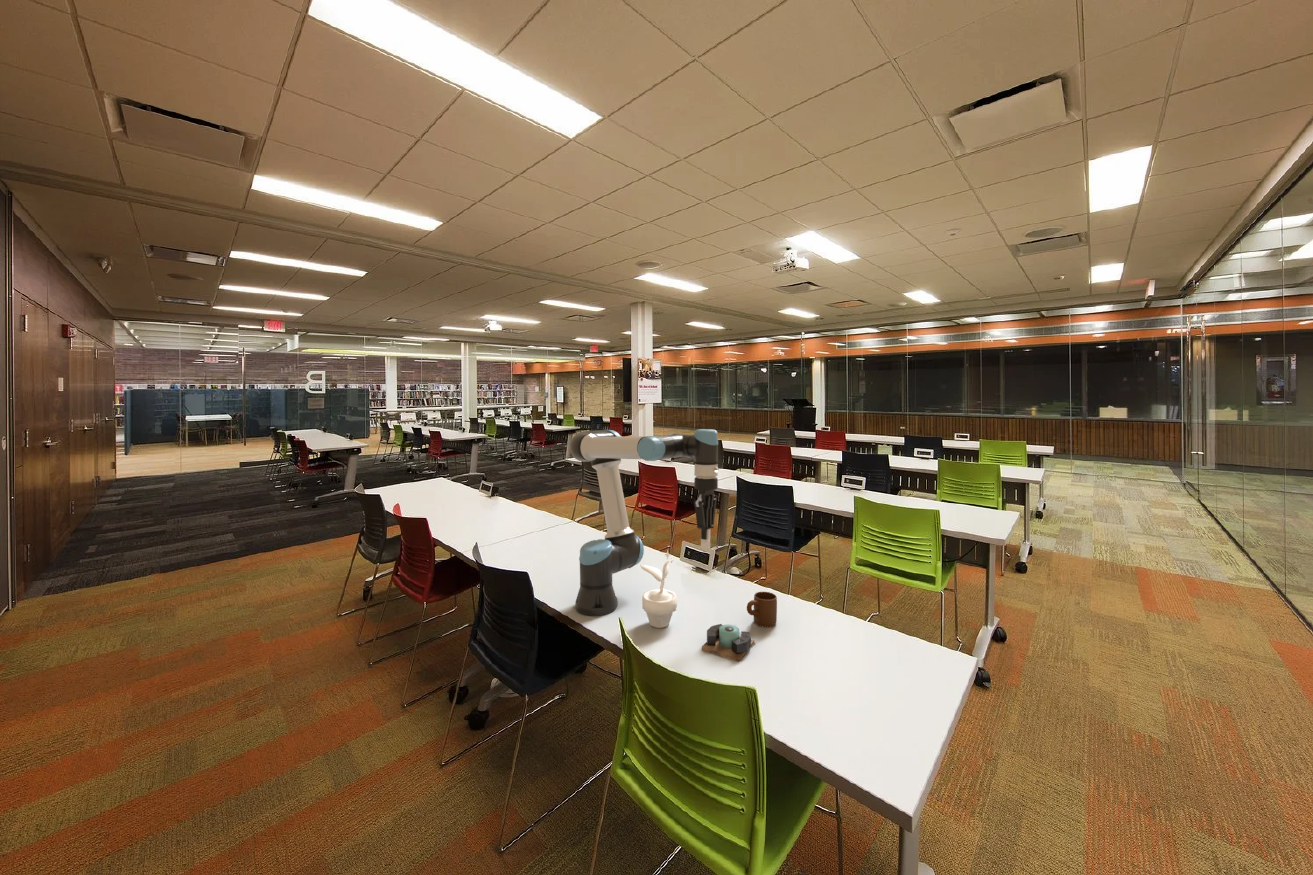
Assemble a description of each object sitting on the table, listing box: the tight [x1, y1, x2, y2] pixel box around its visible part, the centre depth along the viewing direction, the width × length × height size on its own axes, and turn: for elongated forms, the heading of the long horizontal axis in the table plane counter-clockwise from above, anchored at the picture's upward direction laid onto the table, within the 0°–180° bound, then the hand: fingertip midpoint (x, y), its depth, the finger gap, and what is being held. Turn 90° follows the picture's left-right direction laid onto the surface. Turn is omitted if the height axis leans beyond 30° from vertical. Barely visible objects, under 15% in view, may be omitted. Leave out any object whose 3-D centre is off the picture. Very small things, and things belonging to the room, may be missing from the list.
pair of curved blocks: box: [706, 623, 752, 655], centre depth 143 cm, size 13×9×3 cm
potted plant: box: [640, 549, 678, 629], centre depth 157 cm, size 13×12×25 cm
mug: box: [746, 591, 778, 628], centre depth 157 cm, size 12×8×9 cm, turn 123°
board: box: [701, 635, 756, 662], centre depth 143 cm, size 12×12×1 cm
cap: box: [719, 624, 740, 649], centre depth 143 cm, size 6×6×5 cm
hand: (705, 548), depth 155 cm, fingers closed
